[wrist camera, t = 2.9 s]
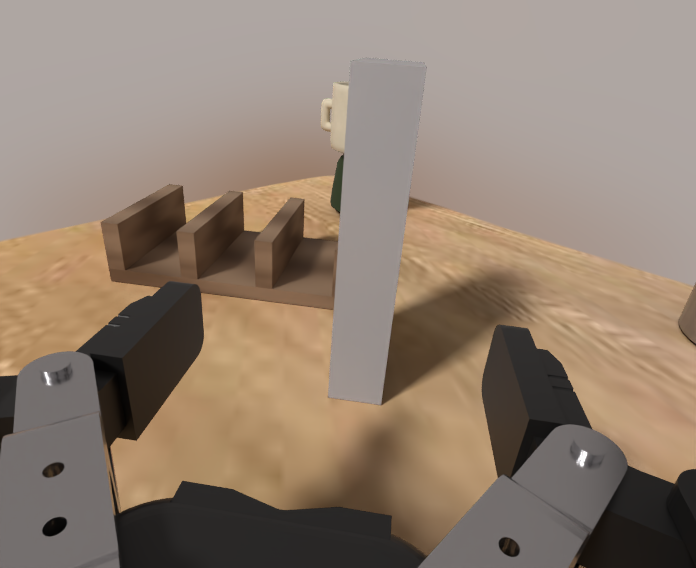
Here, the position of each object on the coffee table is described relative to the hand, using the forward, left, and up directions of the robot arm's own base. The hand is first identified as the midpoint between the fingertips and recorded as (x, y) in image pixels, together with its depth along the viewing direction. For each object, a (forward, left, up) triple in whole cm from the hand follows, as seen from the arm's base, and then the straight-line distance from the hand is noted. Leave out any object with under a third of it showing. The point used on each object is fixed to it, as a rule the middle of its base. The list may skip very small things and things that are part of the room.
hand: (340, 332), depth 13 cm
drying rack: (-8, -23, -10) cm, 26 cm away
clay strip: (-8, -8, -10) cm, 15 cm away
